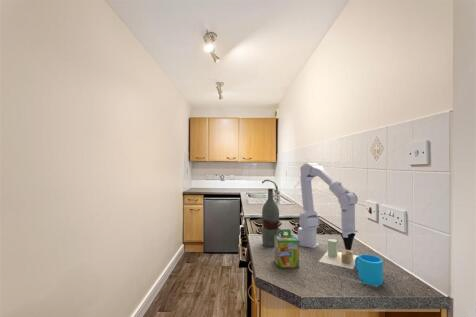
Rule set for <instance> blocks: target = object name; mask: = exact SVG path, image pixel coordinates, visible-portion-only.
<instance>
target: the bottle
mask: <svg viewBox="0 0 476 317" xmlns="http://www.w3.org/2000/svg"><path fill="white" fill-rule="evenodd" d="M279 210H280V209H279V206H278V205H277V203H276V201H275V200H274V189H273V188H268V189H267V200H266V201H265V203H264V204H263V206H262V210H261V218H262V234H261V240H262V244H263V245H264V246H265V247H268V248H269V247H270V248H271V247H272V248H274V235H280V231H279V219H280V211H279Z"/></svg>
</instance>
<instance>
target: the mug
mask: <svg viewBox="0 0 476 317" xmlns="http://www.w3.org/2000/svg"><path fill="white" fill-rule="evenodd" d="M357 256H358V257H356V259H355V268H356V270H357V271H358V278H359V280H360V281H361V283H364V284H366V285H369V286H376V287H377V286H381V285H383V283H384V261H383V260H384V259H382V258H381V257H380V256H377V255H373V254H359V255H357Z"/></svg>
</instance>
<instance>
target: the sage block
mask: <svg viewBox="0 0 476 317" xmlns="http://www.w3.org/2000/svg"><path fill="white" fill-rule="evenodd" d="M338 244H339V241H338V239H333V238H329V239H327V251H328V256H332V257H337V255H338V252H339V251H338V248H339V246H338Z"/></svg>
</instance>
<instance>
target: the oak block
mask: <svg viewBox="0 0 476 317" xmlns="http://www.w3.org/2000/svg"><path fill="white" fill-rule="evenodd" d="M341 253H342V254H341V258H342V263H345V264H350V265H351V263H352V261H353V255H354V251H353V250H346V249H344V250H343V251H342V252H341Z"/></svg>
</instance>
